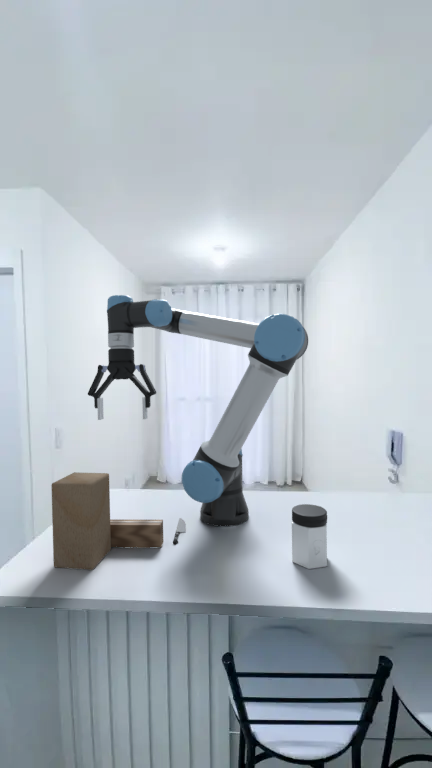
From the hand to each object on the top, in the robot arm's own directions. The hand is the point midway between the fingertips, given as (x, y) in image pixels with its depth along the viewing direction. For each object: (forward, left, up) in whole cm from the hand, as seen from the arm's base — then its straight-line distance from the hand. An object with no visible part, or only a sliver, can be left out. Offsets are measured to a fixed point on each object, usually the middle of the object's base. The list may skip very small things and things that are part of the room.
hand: (122, 419), depth 109 cm
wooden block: (+4, +21, -32) cm, 39 cm away
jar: (-51, +21, -32) cm, 64 cm away
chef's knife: (-18, +4, -32) cm, 37 cm away
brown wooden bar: (-2, +14, -32) cm, 35 cm away
